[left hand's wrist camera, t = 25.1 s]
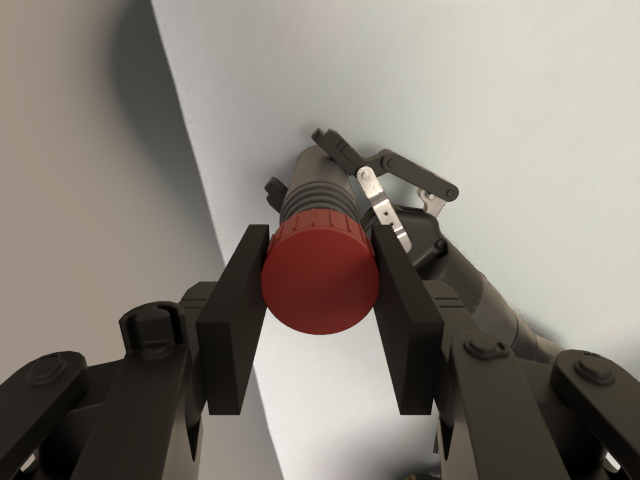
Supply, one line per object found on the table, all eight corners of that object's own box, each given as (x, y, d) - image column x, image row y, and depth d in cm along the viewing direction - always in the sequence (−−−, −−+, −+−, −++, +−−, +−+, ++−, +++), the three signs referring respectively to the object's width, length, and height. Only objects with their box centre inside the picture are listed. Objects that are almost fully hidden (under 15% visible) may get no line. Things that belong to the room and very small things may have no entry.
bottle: (289, 155, 31) (243, 242, 13) (333, 137, 31) (355, 200, 12) (306, 198, 33) (289, 334, 14) (350, 182, 32) (391, 300, 14)
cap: (349, 313, 15) (353, 349, 13) (255, 284, 15) (244, 316, 13) (388, 228, 14) (401, 252, 12) (286, 192, 13) (280, 210, 11)
